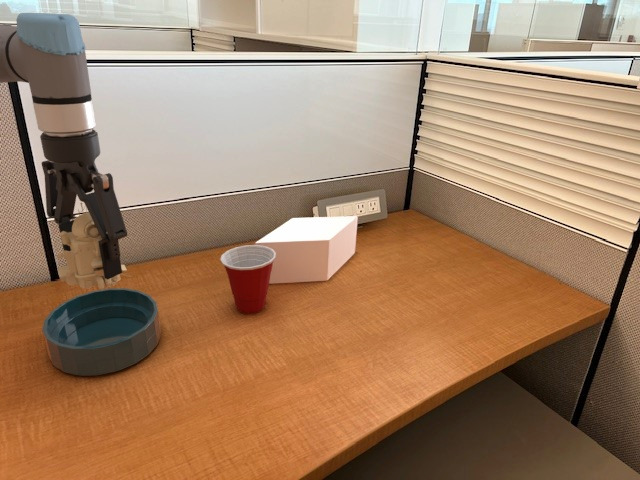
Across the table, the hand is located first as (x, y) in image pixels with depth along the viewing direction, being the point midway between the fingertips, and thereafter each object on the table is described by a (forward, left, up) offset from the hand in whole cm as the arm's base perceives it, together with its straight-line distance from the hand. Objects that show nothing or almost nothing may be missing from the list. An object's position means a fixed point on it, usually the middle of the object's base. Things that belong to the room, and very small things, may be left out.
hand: (93, 266), depth 79 cm
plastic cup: (+13, +24, -16) cm, 32 cm away
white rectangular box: (+14, +45, -16) cm, 50 cm away
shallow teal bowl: (0, 0, -16) cm, 16 cm away
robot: (0, 0, -3) cm, 3 cm away
